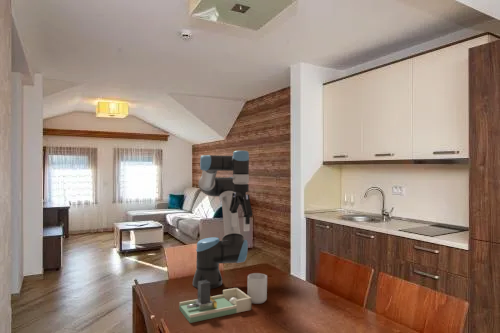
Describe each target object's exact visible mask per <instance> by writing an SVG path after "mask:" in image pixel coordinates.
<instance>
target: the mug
mask: <svg viewBox="0 0 500 333" xmlns="http://www.w3.org/2000/svg"><path fill="white" fill-rule="evenodd" d="M246 282H247V286H246V288H247V290H246V291H247V292H246V293H247V295H248V296H249V297H251V304H256V305H257V304H258V305H260V304H263V303H265V302H266V301H267V299H268V293H267V292H268V275H267V274H265V273H260V272H253V273H249V274H248V275H247V281H246Z"/></svg>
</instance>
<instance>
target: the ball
mask: <svg viewBox="0 0 500 333" xmlns="http://www.w3.org/2000/svg"><path fill="white" fill-rule="evenodd" d="M236 300H237V299H236V298H234V297H233V298H231V299H230V301H229V302H230V303H231V304H232V305H233V306H234V305H236Z"/></svg>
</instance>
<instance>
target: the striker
mask: <svg viewBox="0 0 500 333" xmlns="http://www.w3.org/2000/svg"><path fill="white" fill-rule="evenodd" d="M196 299H197V300H195V299H193V300H194V304H191V305H187V309H189V308H194V307H197V309H198V310H199V311H200V310H205V309H210V308H217V302H216V301H215V300H214V299H213V298H212V296H211V289H210V282H209V281H208V280H202V281H198V288H197V298H196Z"/></svg>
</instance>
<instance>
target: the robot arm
mask: <svg viewBox="0 0 500 333" xmlns="http://www.w3.org/2000/svg"><path fill="white" fill-rule="evenodd" d="M199 160H200V161H199V169H200V170H201V171H202V172H201V176H200V178H199V179H198V185H197V186H198V188H199V190H200V191H201V192H202V193H203V194H205V195H207V196H209V197H218V200H219V201H220V202H221V207H222V220H223V233H224V235H223V236H222V238H221V240H220V238H219V237H214V236H212V237H205V238H202V239H200V240H198V241H197V244H196V249H195V251H196V261H195V262H196V263H195V264H196V265H195V266H196V269H195V272H194V276H193V279H192V286H193V287H194V288H197V289H198V281H202V280H208V281H209V282H210V290H211V289H212V290H213V289H216V288H219V287H221V286H222V285H223V278H222V274H221V271H220V264H239V263H244V262H245V261H246V260H247V256H248V249H249V248H248V247H249V246H248V245H249V243H248V240H247V239H245V238H244V235H243V234H242V233H241V228H240V220H239V212H238V209H239V207H240V206H241V210H242V212H243V232H250V229H251V224H250V223H251V222H250V221H251V219H250V218H251V217H252V216H253V215H254V214H253V210H252V206H251V205H252V204H251V200H250V198H251V197H250V194H246V193H248V192H249V188H250V185H249V183H250V182H249V181H250V179H249V178H250V174H249V171H250V170H249V169H250V166H249V165H250V153H249V151H248V150H235V151H233V152H232V155H220V154H217V155H216V154H214V155H213V154H212V155H211V154H207V155H206V154H205V155H204V154H203V155H202V154H201V155H200V158H199ZM218 171H221V172H222V171H223V172H224V171H225V172H227V171H228V172H229V171H230V172H232V176H228V177H227V176H226V177H224V176H223V177H222V176H219V177H218V176H217V174H218Z"/></svg>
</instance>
